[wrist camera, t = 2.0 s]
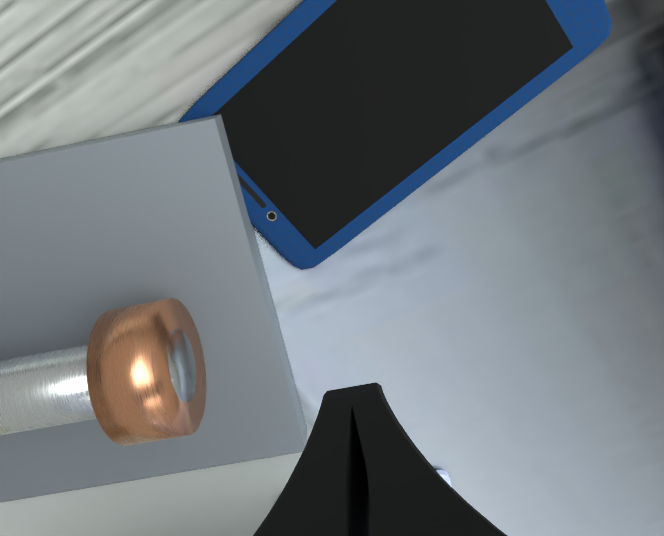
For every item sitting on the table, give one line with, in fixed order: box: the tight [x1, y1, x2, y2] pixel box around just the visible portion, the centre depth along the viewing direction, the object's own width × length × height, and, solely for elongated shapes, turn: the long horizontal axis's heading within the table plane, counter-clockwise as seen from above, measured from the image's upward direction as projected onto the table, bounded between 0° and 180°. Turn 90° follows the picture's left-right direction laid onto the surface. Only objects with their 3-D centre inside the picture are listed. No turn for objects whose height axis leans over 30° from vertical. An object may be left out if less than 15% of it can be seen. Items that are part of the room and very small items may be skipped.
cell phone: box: [178, 0, 612, 269], centre depth 18 cm, size 7×14×1 cm, turn 130°
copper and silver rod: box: [0, 298, 206, 446], centre depth 17 cm, size 4×12×4 cm, turn 101°
